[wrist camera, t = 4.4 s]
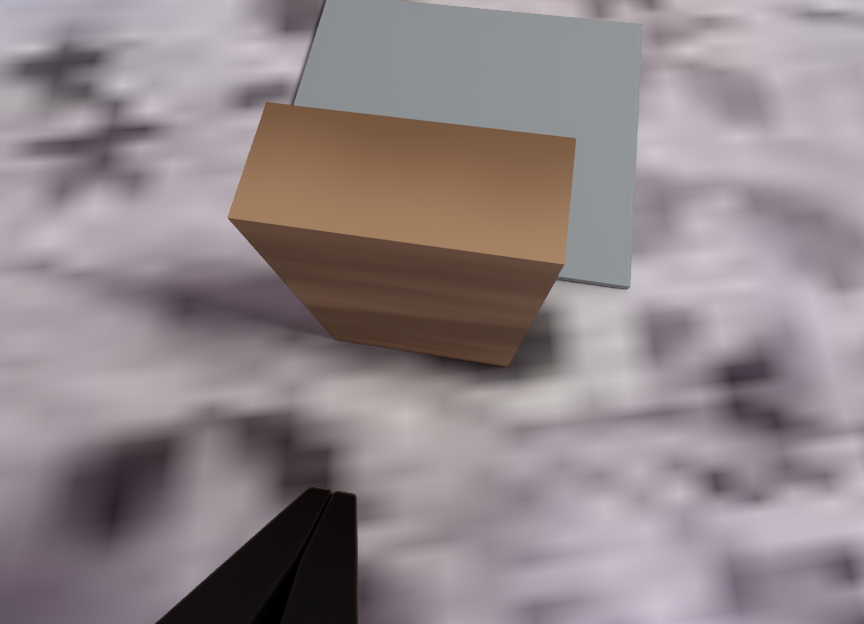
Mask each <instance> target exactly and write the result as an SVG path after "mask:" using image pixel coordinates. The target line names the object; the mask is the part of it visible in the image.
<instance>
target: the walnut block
mask: <svg viewBox="0 0 864 624" xmlns="http://www.w3.org/2000/svg"><path fill="white" fill-rule="evenodd" d="M575 147H576V138H571V137H562V136H554V135H545V134H536V133H528V132H519V131H510V130H502V129H493V128H485V127H476V126H467V125H459V124H450V123H441V122H433V121H424V120H416V119H407V118H398V117H390V116H381V115H373V114H364V113H355V112H347V111H338V110H329V109H321V108H312V107H304V106H295V105H286V104H278V103H269V102H266V105H265V108H264V111H263V114H262V117H261V120H260V123H259V126H258V128H257V131H256V134H255V137H254V140H253V143H252V146H251V149H250V152H249V155H248V158H247V161H246V164H245V167H244V170H243V173H242V176H241V179H240V182H239V185H238V188H237V191H236V194H235V197H234V200H233V203H232V206H231V209H230V212H229V215H228V219H229V220H230V221H231V222H232V223H233V225H234V226H235V227H236V228H237V229H238V230H239V231H240V232H241V234H242V235H243V236H244V237H245V238H246V239H247V240H248V242H249V243H250V244H251V245H252V246H253V247H254V248H255V249H256V251H257V252H258V253H259V254H260V255H261V256H262V257H263V258H264V260H265V261H266V262H267V263H268V264H269V265H270V266H271V268H272V269H273V270H274V271H275V272H276V273H277V274H278V275H279V277H280V278H281V279H282V280H283V281H284V282H285V283H286V284H287V286H288V287H289V288H290V289H291V290H292V291H293V292H294V293H295V295H296V296H297V297H298V298H299V299H300V300H301V301H302V303H303V304H304V305H305V306H306V307H307V308H308V309H309V310H310V312H311V313H312V314H313V315H314V316H315V317H316V318H317V319H318V321H319V322H320V323H321V324H322V325H323V326H324V327H325V329H326V330H327V331H328V332H329V333H330V334H331V335H332V336H333V338H334V339H335V340H340V341H346V342H352V343H359V344H365V345H371V346H378V347H384V348H390V349H396V350H403V351H409V352H415V353H422V354H428V355H434V356H441V357H447V358H453V359H460V360H466V361H472V362H479V363H485V364H491V365H498V366H504V367H508V365H509V363H510V361H511V360H512V358H513V356H514V354H515V352H516V351H517V349H518V347H519V345H520V343H521V342H522V340H523V338H524V336H525V335H526V333H527V331H528V329H529V327H530V326H531V324H532V322H533V320H534V318H535V317H536V315H537V313H538V311H539V309H540V308H541V306H542V304H543V302H544V300H545V299H546V297H547V295H548V293H549V292H550V290H551V288H552V286H553V284H554V283H555V281H556V279H557V277H558V275H559V274H560V272H561V270H562V268H563V266H564V265H565V254H566V243H567V233H568V222H569V211H570V201H571V190H572V179H573V168H574V158H575Z"/></svg>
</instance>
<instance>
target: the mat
mask: <svg viewBox="0 0 864 624" xmlns="http://www.w3.org/2000/svg"><path fill="white" fill-rule="evenodd" d="M641 46H642V24H635V23H625V22H615V21H604V20H594V19H583V18H573V17H562V16H552V15H541V14H531V13H520V12H510V11H500V10H489V9H479V8H468V7H458V6H447V5H437V4H426V3H416V2H406V1H395V0H326V3H325V6H324V9H323V13H322V16H321V19H320V22H319V25H318V28H317V32H316V35H315V38H314V41H313V44H312V48H311V51H310V54H309V57H308V60H307V63H306V67H305V70H304V73H303V76H302V79H301V83H300V86H299V89H298V92H297V95H296V98H295V102H294V105H295V106H304V107H312V108H321V109H329V110H338V111H347V112H355V113H364V114H373V115H381V116H390V117H398V118H407V119H416V120H424V121H433V122H441V123H450V124H459V125H467V126H476V127H485V128H493V129H502V130H510V131H519V132H528V133H536V134H545V135H554V136H562V137H571V138H576V147H575V158H574V168H573V179H572V190H571V201H570V211H569V222H568V233H567V243H566V254H565V265H564V266H563V268H562V270H561V272H560V274H559V275H558V277H557V279H559V280H566V281H573V282H580V283H588V284H595V285H602V286H609V287H616V288H623V289H628V288H629V287H630V279H631V258H632V237H633V215H634V194H635V173H636V152H637V130H638V109H639V88H640V67H641Z"/></svg>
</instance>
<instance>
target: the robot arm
mask: <svg viewBox="0 0 864 624" xmlns="http://www.w3.org/2000/svg"><path fill="white" fill-rule="evenodd" d="M155 624H359V610H358V536H357V496H356V495H355V494H353V493H348V492H342V491H335V492H334V493H333V491H332V490H330V489H326V488H321V487H315V486H312V487H309V488H308V489H306V490H305V491H304V492H303V493H302V494H301V495H300V496H298V497H297V498H296V499H295V500H294V501H293V502H292V503H291V504H289V505H288V506H287V507H286V508H285V509H284V510H283V511H282V512H280V513H279V514H278V515H277V516H276V517H275V518H274V519H273V520H271V521H270V522H269V523H268V524H267V525H266V526H265V527H263V528H262V529H261V530H260V531H259V532H258V533H257V534H256V535H254V536H253V537H252V538H251V539H250V540H249V541H248V542H247V543H245V544H244V545H243V546H242V547H241V548H240V549H239V550H238V551H236V552H235V553H234V554H233V555H232V556H231V557H230V558H229V559H227V560H226V561H225V562H224V563H223V564H222V565H221V566H220V567H218V568H217V569H216V570H215V571H214V572H213V573H212V574H210V575H209V576H208V577H207V578H206V579H205V580H204V581H203V582H201V583H200V584H199V585H198V586H197V587H196V588H195V589H194V590H192V591H191V592H190V593H189V594H188V595H187V596H186V597H185V598H183V599H182V600H181V601H180V602H179V603H178V604H177V605H176V606H174V607H173V608H172V609H171V610H170V611H169V612H168V613H166V614H165V615H164V616H163V617H162V618H161V619H160V620H159V621H157V622H156V623H155Z"/></svg>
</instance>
